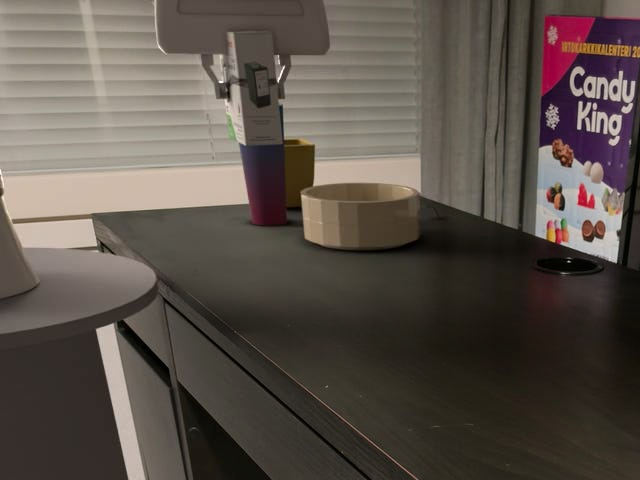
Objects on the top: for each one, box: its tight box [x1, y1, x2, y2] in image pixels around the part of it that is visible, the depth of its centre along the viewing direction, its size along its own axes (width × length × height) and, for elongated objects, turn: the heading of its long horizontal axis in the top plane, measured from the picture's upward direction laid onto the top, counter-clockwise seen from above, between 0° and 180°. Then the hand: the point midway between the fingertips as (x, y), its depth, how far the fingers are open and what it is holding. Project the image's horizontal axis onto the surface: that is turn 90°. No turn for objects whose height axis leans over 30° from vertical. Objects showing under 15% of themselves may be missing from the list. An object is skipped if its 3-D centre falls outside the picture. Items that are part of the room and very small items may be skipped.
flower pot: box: [284, 138, 316, 208], centre depth 143 cm, size 9×9×9 cm
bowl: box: [300, 182, 421, 251], centre depth 124 cm, size 16×16×6 cm
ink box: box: [219, 31, 283, 146], centre depth 113 cm, size 9×5×12 cm, turn 27°
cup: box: [238, 102, 288, 227], centre depth 130 cm, size 7×7×15 cm
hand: (251, 98), depth 113 cm, fingers closed on ink box, 5 cm apart
